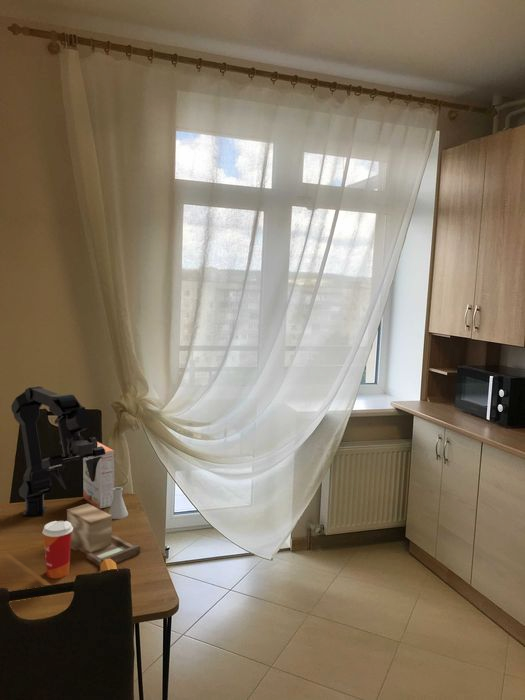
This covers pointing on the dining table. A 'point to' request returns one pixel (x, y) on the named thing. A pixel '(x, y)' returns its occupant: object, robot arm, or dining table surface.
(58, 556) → the paper cup
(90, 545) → the tea box
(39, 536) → the dining table surface
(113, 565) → the carrot
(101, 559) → the tan shallow tray
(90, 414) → the robot arm
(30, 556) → the dining table surface
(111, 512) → the flask
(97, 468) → the cracker box
